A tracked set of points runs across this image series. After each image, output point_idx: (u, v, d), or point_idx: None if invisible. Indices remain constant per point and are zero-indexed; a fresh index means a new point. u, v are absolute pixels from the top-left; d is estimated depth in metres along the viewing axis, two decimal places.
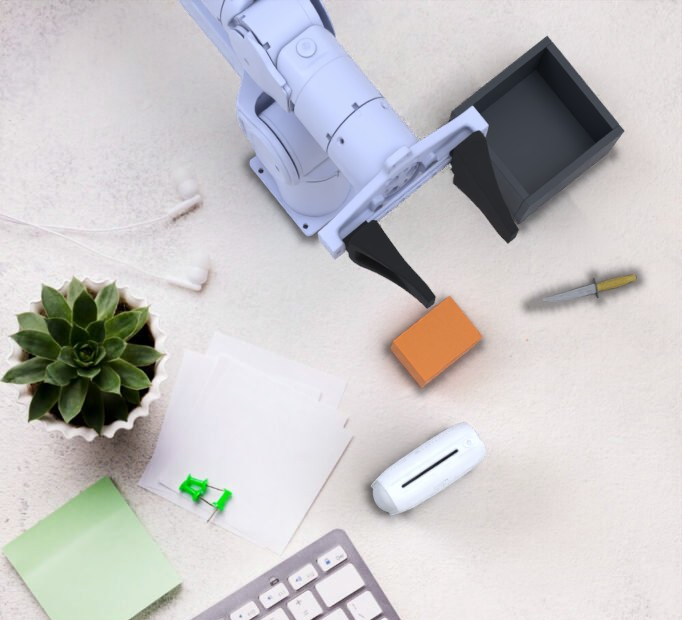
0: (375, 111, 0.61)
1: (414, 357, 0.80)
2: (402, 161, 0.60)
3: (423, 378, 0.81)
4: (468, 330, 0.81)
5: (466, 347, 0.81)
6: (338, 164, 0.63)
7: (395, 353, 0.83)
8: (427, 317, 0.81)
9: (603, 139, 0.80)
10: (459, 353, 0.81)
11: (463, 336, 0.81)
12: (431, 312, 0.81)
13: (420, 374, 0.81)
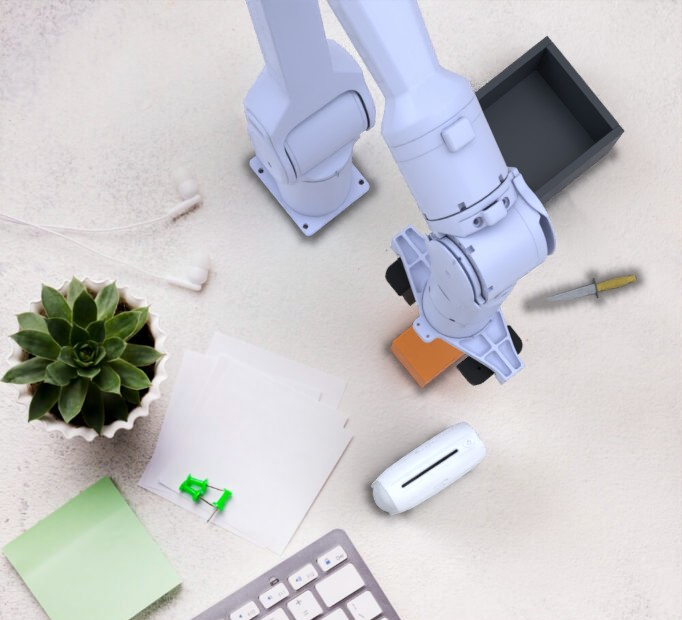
0: (447, 322, 0.64)
1: (414, 357, 0.80)
2: None
3: (423, 378, 0.81)
4: None
5: None
6: None
7: (395, 353, 0.83)
8: None
9: (603, 139, 0.80)
10: (459, 353, 0.81)
11: None
12: None
13: (420, 374, 0.81)
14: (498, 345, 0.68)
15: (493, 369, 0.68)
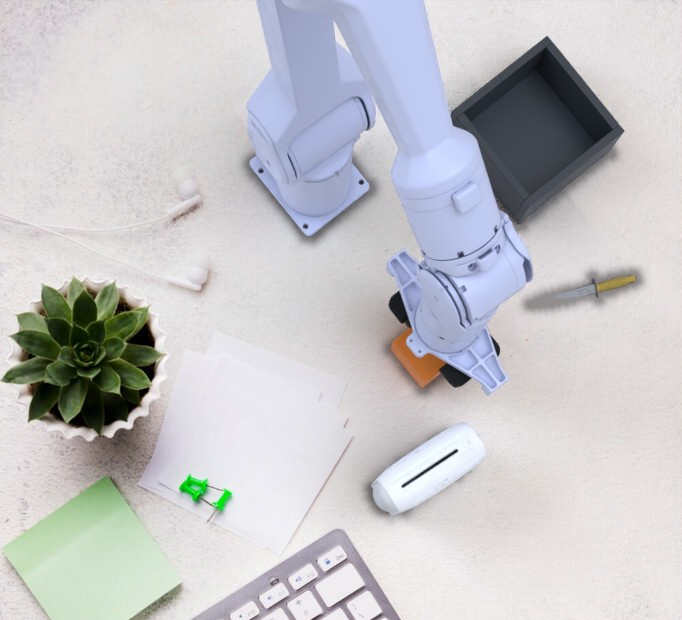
0: (437, 339, 0.70)
1: (414, 357, 0.81)
2: None
3: (423, 378, 0.81)
4: None
5: None
6: None
7: (395, 353, 0.83)
8: None
9: (603, 139, 0.80)
10: None
11: None
12: None
13: (420, 374, 0.81)
14: (484, 360, 0.73)
15: (480, 382, 0.74)
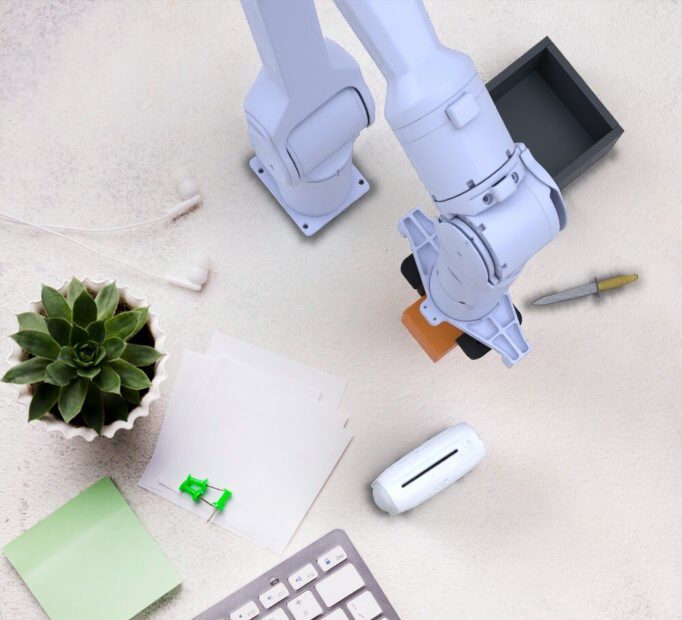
0: (455, 304, 0.63)
1: (427, 328, 0.74)
2: None
3: (437, 351, 0.74)
4: None
5: None
6: None
7: (406, 325, 0.77)
8: None
9: (603, 139, 0.80)
10: None
11: None
12: None
13: (434, 347, 0.74)
14: (506, 328, 0.67)
15: (500, 353, 0.67)
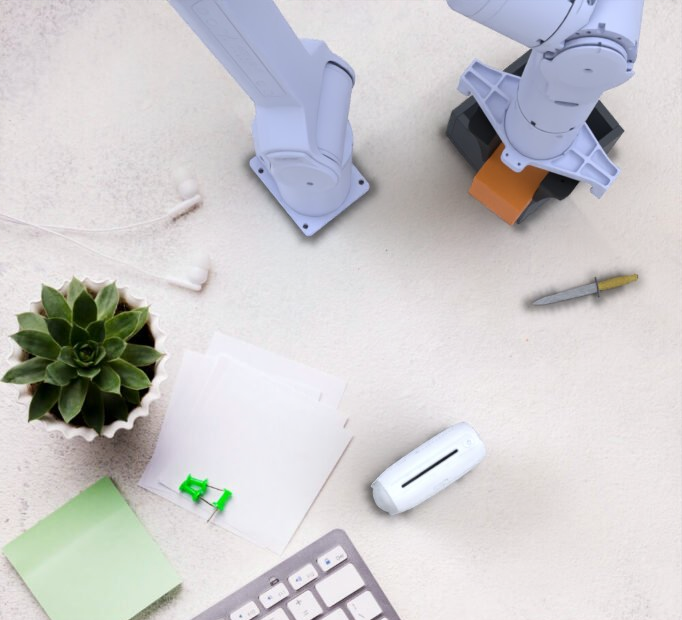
0: (543, 137, 0.63)
1: (501, 188, 0.74)
2: None
3: (516, 208, 0.74)
4: None
5: None
6: None
7: (476, 194, 0.76)
8: None
9: (603, 139, 0.80)
10: None
11: None
12: None
13: (512, 205, 0.74)
14: (590, 157, 0.67)
15: (591, 182, 0.67)
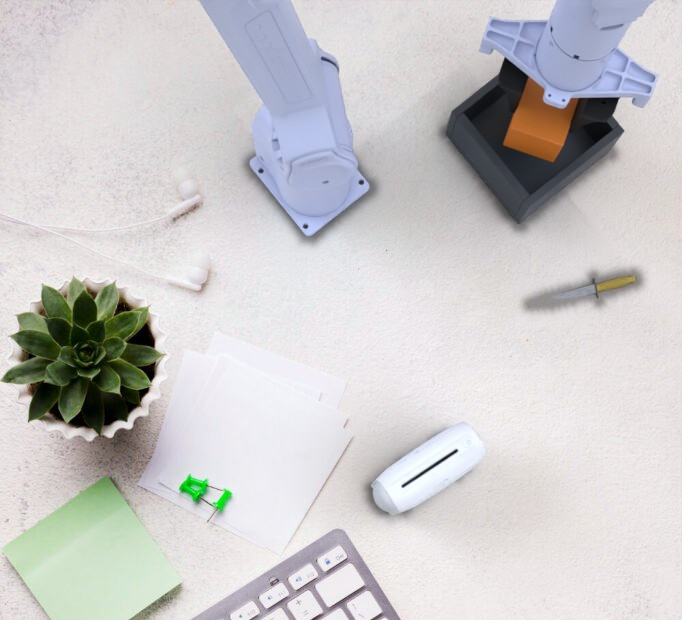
0: (586, 67, 0.65)
1: (539, 130, 0.76)
2: None
3: (558, 143, 0.76)
4: None
5: None
6: (546, 27, 0.66)
7: (512, 144, 0.79)
8: (527, 86, 0.76)
9: (603, 139, 0.80)
10: (576, 101, 0.76)
11: None
12: (528, 80, 0.76)
13: (554, 142, 0.76)
14: (626, 71, 0.69)
15: (634, 94, 0.69)
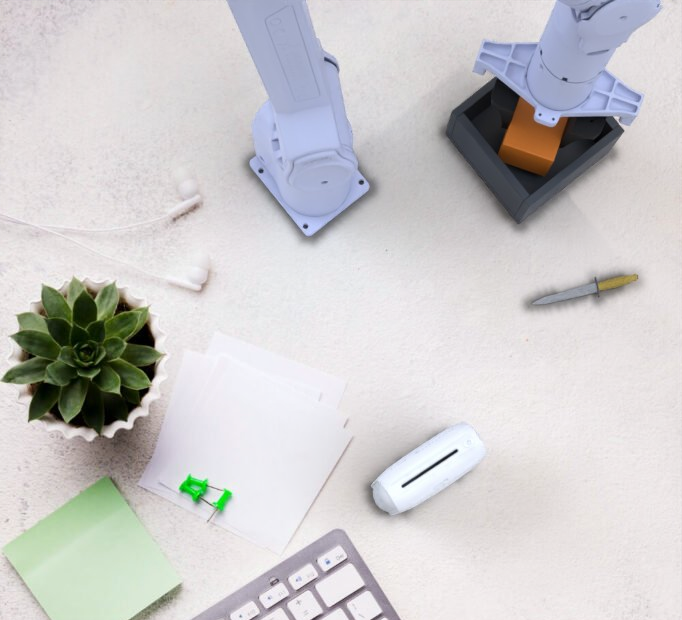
0: (574, 88, 0.69)
1: (530, 146, 0.79)
2: None
3: (549, 159, 0.79)
4: None
5: None
6: (536, 50, 0.69)
7: (505, 159, 0.82)
8: (520, 104, 0.79)
9: (603, 139, 0.80)
10: (567, 118, 0.79)
11: None
12: (520, 98, 0.79)
13: (545, 157, 0.79)
14: (613, 91, 0.72)
15: (620, 113, 0.73)
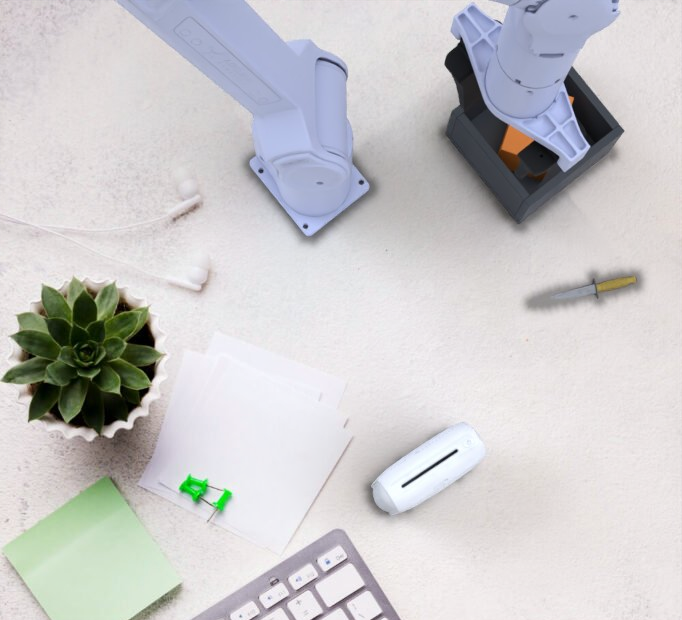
0: None
1: None
2: None
3: None
4: None
5: None
6: (559, 85, 0.63)
7: None
8: None
9: (603, 139, 0.80)
10: None
11: None
12: None
13: None
14: (480, 38, 0.66)
15: None
